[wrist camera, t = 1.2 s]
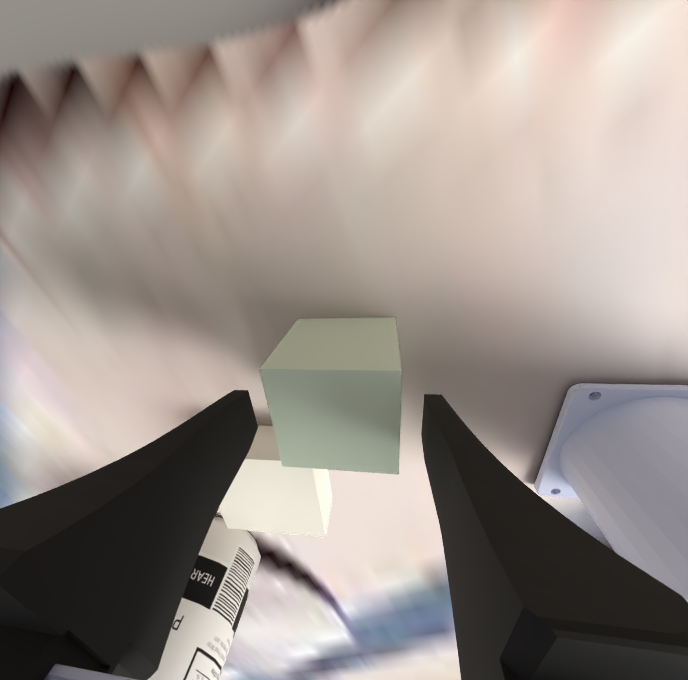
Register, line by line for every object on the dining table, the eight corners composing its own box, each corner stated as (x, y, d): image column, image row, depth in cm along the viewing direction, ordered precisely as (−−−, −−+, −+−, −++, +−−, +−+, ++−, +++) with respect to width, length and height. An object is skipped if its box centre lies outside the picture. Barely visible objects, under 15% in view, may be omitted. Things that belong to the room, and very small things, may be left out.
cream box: (322, 423, 17) (311, 462, 15) (333, 494, 20) (325, 537, 18) (223, 420, 19) (195, 456, 16) (247, 488, 22) (227, 528, 19)
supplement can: (233, 571, 27) (89, 918, 14) (163, 529, 26) (-79, 883, 12) (281, 548, 24) (154, 969, 11) (205, 498, 22) (-61, 932, 9)
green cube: (395, 316, 13) (401, 370, 9) (394, 398, 16) (398, 474, 11) (298, 318, 14) (259, 368, 10) (310, 395, 16) (282, 466, 12)
